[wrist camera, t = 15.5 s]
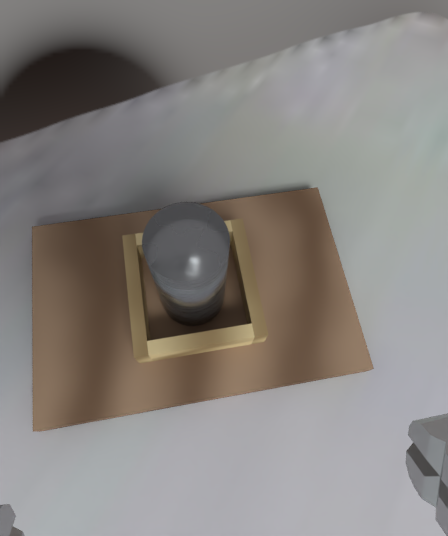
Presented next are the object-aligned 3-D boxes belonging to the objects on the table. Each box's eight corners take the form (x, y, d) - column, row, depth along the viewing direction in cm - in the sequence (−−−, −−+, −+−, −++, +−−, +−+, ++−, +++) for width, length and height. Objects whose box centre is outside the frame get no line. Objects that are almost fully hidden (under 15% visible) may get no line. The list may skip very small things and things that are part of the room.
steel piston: (165, 330, 25) (146, 287, 18) (158, 271, 26) (137, 208, 19) (229, 320, 25) (237, 273, 18) (218, 262, 27) (221, 197, 19)
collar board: (39, 431, 24) (17, 431, 21) (38, 233, 28) (19, 211, 26) (367, 370, 25) (387, 363, 23) (314, 194, 30) (324, 170, 27)
